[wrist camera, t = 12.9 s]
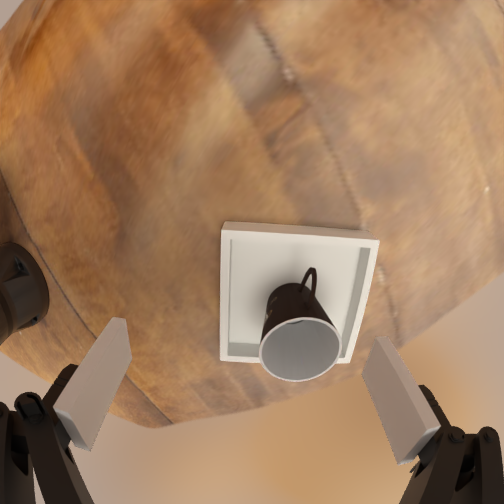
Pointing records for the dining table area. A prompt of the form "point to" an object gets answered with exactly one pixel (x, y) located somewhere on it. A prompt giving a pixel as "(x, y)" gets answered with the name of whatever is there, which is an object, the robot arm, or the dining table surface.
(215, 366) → the dining table surface
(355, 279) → the white tray
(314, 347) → the coffee mug
